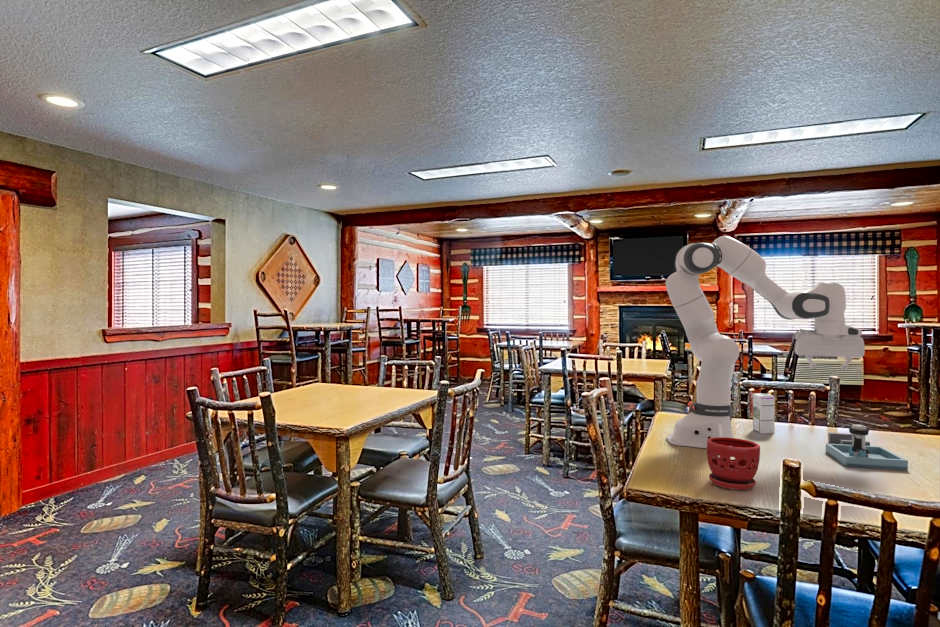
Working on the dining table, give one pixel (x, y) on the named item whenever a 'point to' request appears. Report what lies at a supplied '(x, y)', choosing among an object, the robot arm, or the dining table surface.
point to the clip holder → (842, 439)
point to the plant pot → (733, 462)
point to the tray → (867, 458)
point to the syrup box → (763, 413)
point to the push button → (858, 441)
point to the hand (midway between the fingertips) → (828, 369)
